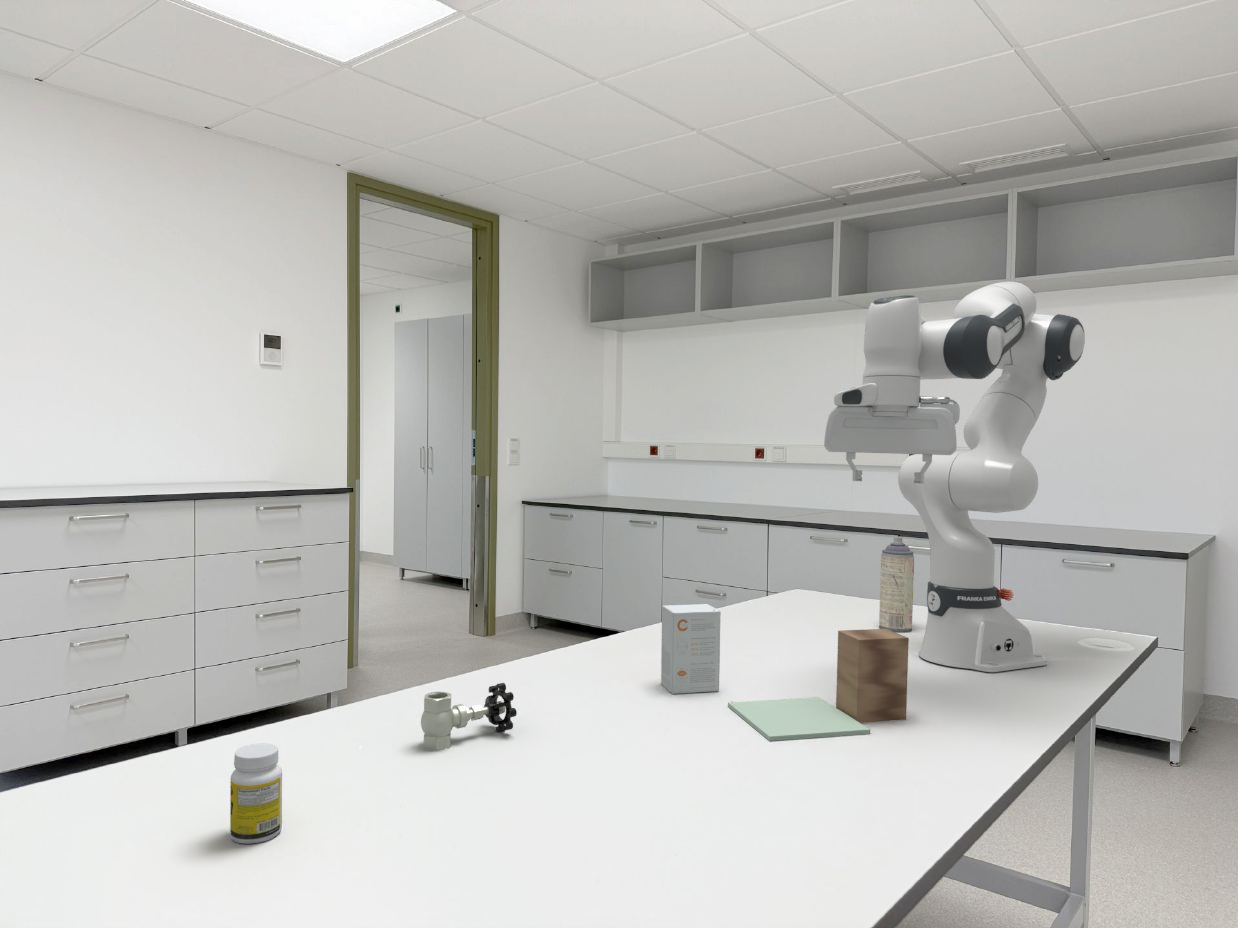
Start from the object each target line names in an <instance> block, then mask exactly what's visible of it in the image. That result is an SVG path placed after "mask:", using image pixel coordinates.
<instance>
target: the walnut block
mask: <svg viewBox="0 0 1238 928" xmlns="http://www.w3.org/2000/svg"><path fill="white" fill-rule="evenodd" d="M909 641H910V639H909V637H907V636H905V635H902V634H900V633H899V632H893V631H890V630H888V629H880V628H872V629H871V628H870V629H847V630H845V629H844V630H842V629H841V630H837V656H836V657H837V659H836V660H837V661H836V692H835V693H836V697H835V708H837V709H839V710H840V711H842V712H843V713H845V714H847V715H848V716H850V717H851V718H853V719H855V720H856V721H858V722H859V723H861V724H864V723H865V724H867V723H879V722H880V723H881V722H892V721H893V722H894V721H907V705H908V702H907V701H908V674H909V673H908V671H909V670H908V669H909Z"/></svg>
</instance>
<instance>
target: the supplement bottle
mask: <svg viewBox="0 0 1238 928" xmlns="http://www.w3.org/2000/svg"><path fill="white" fill-rule="evenodd" d="M278 763H279V747H278V746H277V745H275V744H272V743H267V742H266V743H265V742H264V743H252V744H248V745H244V746H242V747H239V748H238V749H237V750H236V751H235V752H234V759H233V766H234V770H233V771H232V773H231V775H230V780H229V781H230V782H229V783H230V805H229V806H230V807H229V808H230V809H229V810H230V811H229V813H230V816H229V817H230V818H229V819H230V821H229V822H230V823H229V824H230V825H229V827H230V829H229V830H230V838H231V840H232V841H233V842H235V843H238V844H244V845H245V844H247V845H249V844H250V845H251V844H257V843H258V844H260V843H262V842H263V843H264V842H267V841H269V840H272V839H273V838H275V837H277V835H279V834H280V833H281V831H282V827H283V770H282V767H281V766H280V764H278Z"/></svg>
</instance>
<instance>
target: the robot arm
mask: <svg viewBox="0 0 1238 928" xmlns="http://www.w3.org/2000/svg"><path fill="white" fill-rule="evenodd" d="M1036 311H1037V300H1036V297H1035V294H1034V293H1033V291H1032V289H1030V288H1029V287H1028V286H1026V285H1025V284H1023V283H1020V282H1017V281H1000V282H996V283H991V284H988V285H985V286H983V287H980V288H978V289H976V290H974V291H972V292H969V293H968V294H967V295H965V296H964V297H963V298H961V300H960V301H959V302H958V304H957V305H956V306H955V308H954V310H953V314H952V318H949V319H938V320H937V319H936V320H928V319H926V318H925V317H923V316H922V315H921V305H920V300H919V298H918V297H917V296H915V295H910V294H906V295H899V296H897V295H896V296H889V297H881V298H877V299H875V300H874V301H872V302H871V303H870V305H869V307H868V310H867V314H866V321H865V327H864V339H863V354H864V358H865V367H864V370H863V374H862V384H861V385H859V386H855V387H850V388H849V389H845V390H842V391H838V392H837V393H836V394H835V395H834V396H833V403H834V405H835V406H836V407H835V408H833V409H832V410H831V411H830V413H829V415H828V417H827V422H826V426H825V432H824V433H825V435H824V442H823V443H824V446H823V447H824V448H825V450H826V451H827V452H829V453H845V456H846V457H845V459H846V462H847V464H848V465H849V468H850V469H851V470H852V482H863V477H862V476H863V470H861V469H858V468H857V467H856V465H855V463H854V461H853V460H856V454H857V453H862V454H893V455H894V454H898V455H909V456H908V457H907V458H906V459H905V460H904V461H903V463H902V464H901V466H900V468H899V472H898V475H897V476H898V477H897V479H898V487H899V490H900V492H901V494H902V496H903V497H904V499H905V500H906V501H908V503H910V504H911V505H912V506H913V508H914V509H915V510H916V512H917V513H918V514H919V517H920V518H921V520H922V521H923V522H922V523H923V524H924V526H925V529H926V533H927V535H928V541H929V542H928V543H929V555H930V556H929V557H930V571H929V572H930V575H929V576H930V578H929V579H930V581H928V582H927V593H926V604H927V606H926V607H927V619H926V625H925V632H924V635H923V640H922V643H921V646H920V649H919V651H918V656H919V657H920V658H921V659H924V660H925V661H927V662H931V663H934V664H938V665H941V666H942V665H943V666H946V667H953V668H960V669H970V670H975V671H980V672H986V673H998V672H1005V671H1012V670H1020V669H1026V668H1027V669H1028V668H1035V667H1042V666H1046V665H1047V659H1046V658H1045V657H1044V656H1042V655H1040V654H1038V653H1036V652H1034V650H1033V640H1032V635H1031V632H1030V630H1029V629H1028V627H1027V626H1026V625H1024V624H1023V623H1022V622H1020V620H1018V619H1017V618H1016V617H1014V615H1012V614H1011V613H1010V612H1009V611H1008V610H1006V608H1004V607H1003V606H1002V605H1003V604H1002V601H1001V600H1005V601H1008V602H1009V601H1011V600H1013V599H1014V596H1015V594H1014V592H1013V590H1011V589H1006V588H1004V587H1003V588H1001V589H999V588H998V587H996V586H995V559H996V558H995V556H996V555H995V554H996V553H995V552H996V549H995V547H994V544H993V542H992V540H991V539H990V538H989V537H988V536H986V535H985V534H984V533H982V532H981V531H979V530H978V529H976V527H975V526H974V524H973V523H972V522H971V518H970V515H969V511H971V512H982V513H993V514H998V513H999V514H1000V513H1001V514H1002V513H1009V512H1017V511H1022V510H1023V511H1024V510H1025V509H1026V508H1028V507H1029V506H1030V504H1031V503H1033V500H1034V499H1035V498H1036V495H1037V492H1038V489H1039V476H1038V473H1037V470H1036V469H1035V466H1034V465H1033V463H1032V462H1031V461H1030V460H1029V459H1028V458H1026V457H1025V456H1024V455H1023V454H1022V451H1023V447H1024V445H1025V443H1026V441H1027V440H1028V438H1029V435H1030V433H1031V432H1032V430H1033V429H1034V427H1035V426H1036V424H1037V421H1038V419H1039V417H1040V415H1041V413H1042V410H1043V407H1044V405H1045V401H1046V397H1047V391H1048V390H1047V381H1048V379H1049V380H1051V381H1056V380H1059V379H1061V378H1062V377H1063V375H1064V374H1065V373H1066V372H1068V371H1069V370H1071V369H1072V368H1073V367H1074V366H1075V365H1076V364H1077V363H1078V362H1079V360H1080V359H1081V358H1082V355H1083V352H1084V348H1085V343H1086V342H1085V341H1086V337H1085V336H1086V335H1085V329H1084V326H1083V324H1082V322H1081V321H1080V319H1078V318H1076V317H1074V316H1070V315H1065V314H1059V313H1057V314H1056V315H1052V314H1042V313H1037V312H1036ZM996 369H997V370H998V369H999V370H1002V372H1001V376H1000V377H998V378H997V379H996V380H995V381H994V382H993V383H992V384H991V385H990V387H988V389H987V390H986V391H985V392H984V394H983V395H982V397H981V398H980V400H979V402H978V403H977V405H975V407H974V409H973V411H972V412H971V414H970V415H969V416H968V418H967V420H966V421H965V423H964V425H963V437H964V438H963V439H964V441H965V444H966V445H967V447H968V449H970V450H967V451H966V450H964V451H959V450H958V451H957V431H956V425H957V423H958V422H959V420H960V413H961V412H960V410H961V409H960V405H959V403H958V402H957V401H955V400H954V399H951V397H950V396H941V397H939V396H937V397H936V396H922V395H921V390H920V389H921V381H922V380H947V379H948V380H949V379H966V380H967V379H968V380H982V379H985V378H987V377H989V376H990V375H991V374H992V373H993V372H994V371H995V370H996Z"/></svg>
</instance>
